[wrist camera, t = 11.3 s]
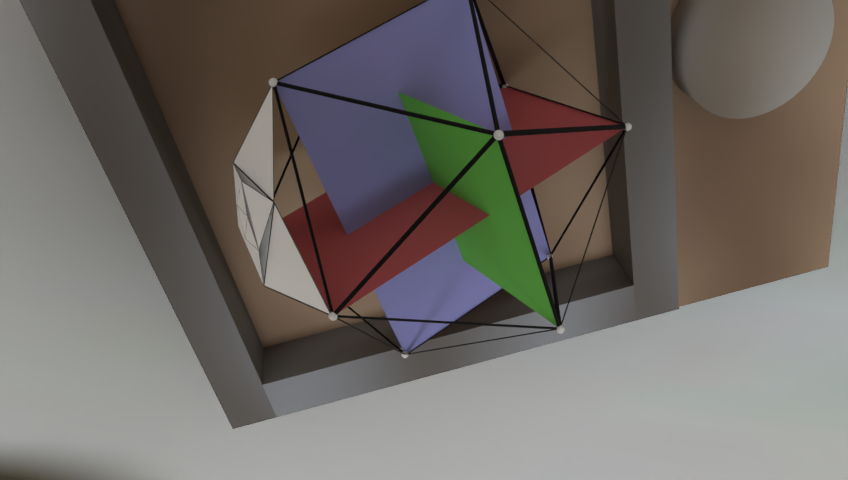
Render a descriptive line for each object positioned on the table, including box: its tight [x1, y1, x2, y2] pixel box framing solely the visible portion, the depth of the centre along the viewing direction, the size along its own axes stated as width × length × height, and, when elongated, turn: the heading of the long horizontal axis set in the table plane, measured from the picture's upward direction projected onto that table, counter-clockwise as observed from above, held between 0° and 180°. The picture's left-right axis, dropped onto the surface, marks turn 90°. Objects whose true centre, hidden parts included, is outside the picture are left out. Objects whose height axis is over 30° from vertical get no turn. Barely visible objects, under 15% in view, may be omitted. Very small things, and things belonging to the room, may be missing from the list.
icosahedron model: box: [233, 0, 632, 358], centre depth 15 cm, size 7×7×8 cm
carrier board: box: [20, 0, 848, 429], centre depth 18 cm, size 18×16×2 cm
